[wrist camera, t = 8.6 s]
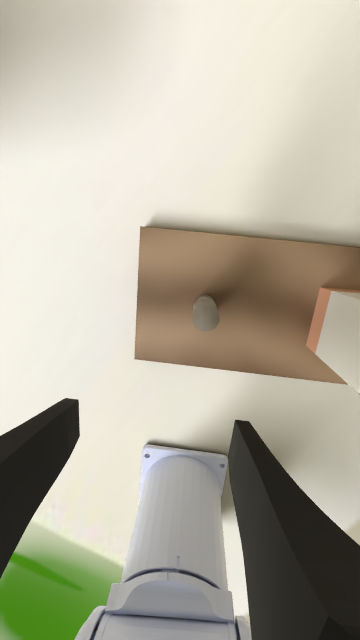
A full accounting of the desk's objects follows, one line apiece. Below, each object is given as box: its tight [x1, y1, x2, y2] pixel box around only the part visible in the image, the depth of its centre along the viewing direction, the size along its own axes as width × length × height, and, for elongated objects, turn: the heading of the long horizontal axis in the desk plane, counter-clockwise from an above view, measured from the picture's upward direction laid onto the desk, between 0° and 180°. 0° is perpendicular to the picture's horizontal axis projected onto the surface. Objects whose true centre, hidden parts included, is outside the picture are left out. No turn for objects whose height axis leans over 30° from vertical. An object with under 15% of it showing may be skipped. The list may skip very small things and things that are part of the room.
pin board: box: [135, 226, 360, 385], centre depth 16 cm, size 10×20×4 cm, turn 84°
